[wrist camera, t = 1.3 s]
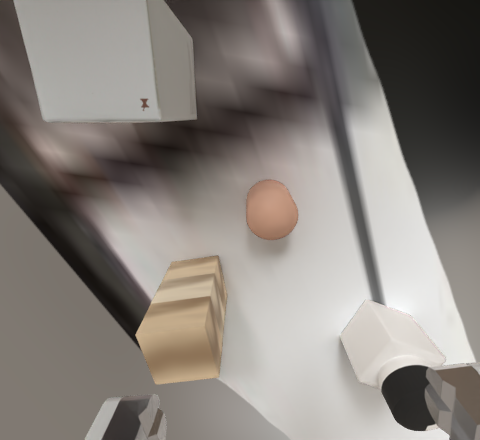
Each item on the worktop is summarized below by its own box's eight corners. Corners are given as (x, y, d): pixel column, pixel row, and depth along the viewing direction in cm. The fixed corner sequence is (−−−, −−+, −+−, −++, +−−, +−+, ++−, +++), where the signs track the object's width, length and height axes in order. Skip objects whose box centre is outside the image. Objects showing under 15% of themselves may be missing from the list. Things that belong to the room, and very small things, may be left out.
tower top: (150, 303, 27) (135, 334, 23) (210, 295, 26) (204, 326, 22) (167, 349, 29) (155, 384, 25) (222, 342, 28) (219, 377, 24)
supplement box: (194, 36, 25) (148, -33, 13) (198, 121, 28) (163, 126, 16) (115, 36, 25) (1, -33, 13) (127, 120, 28) (40, 125, 16)
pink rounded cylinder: (243, 183, 30) (242, 196, 25) (287, 176, 30) (295, 187, 25) (249, 224, 32) (250, 243, 27) (292, 218, 31) (300, 236, 27)
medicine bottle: (338, 336, 38) (376, 429, 27) (365, 297, 35) (421, 382, 24) (381, 351, 39) (437, 448, 27) (411, 314, 36) (486, 404, 25)
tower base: (171, 261, 34) (162, 280, 30) (218, 255, 33) (214, 273, 30) (183, 300, 36) (176, 322, 32) (227, 295, 36) (224, 316, 32)
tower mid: (162, 280, 30) (150, 303, 27) (214, 273, 30) (210, 295, 26) (176, 322, 32) (166, 349, 29) (224, 316, 32) (222, 342, 28)
